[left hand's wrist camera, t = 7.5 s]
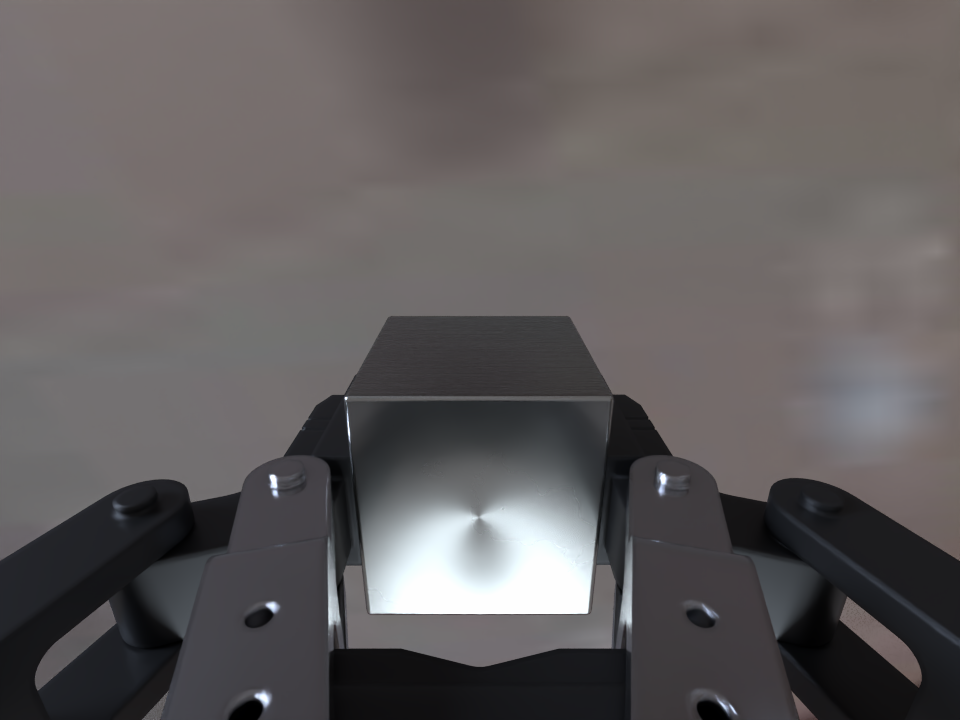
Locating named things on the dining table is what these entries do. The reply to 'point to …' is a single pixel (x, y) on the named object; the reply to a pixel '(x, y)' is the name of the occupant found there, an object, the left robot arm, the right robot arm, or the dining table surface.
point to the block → (479, 466)
